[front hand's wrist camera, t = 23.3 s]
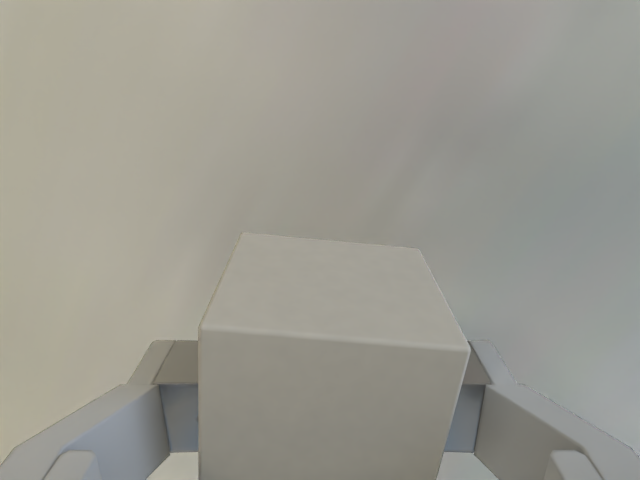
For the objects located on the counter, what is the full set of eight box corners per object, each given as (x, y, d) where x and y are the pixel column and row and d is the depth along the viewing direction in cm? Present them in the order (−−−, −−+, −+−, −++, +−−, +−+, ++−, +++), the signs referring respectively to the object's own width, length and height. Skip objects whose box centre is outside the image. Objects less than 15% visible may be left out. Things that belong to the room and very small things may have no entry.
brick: (391, 390, 13) (422, 536, 9) (235, 377, 13) (197, 520, 9) (419, 247, 12) (474, 349, 8) (240, 230, 12) (196, 325, 7)
